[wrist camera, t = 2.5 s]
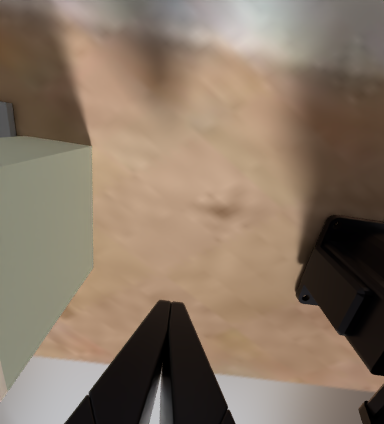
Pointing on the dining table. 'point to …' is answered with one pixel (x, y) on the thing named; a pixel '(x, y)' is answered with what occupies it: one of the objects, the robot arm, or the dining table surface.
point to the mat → (7, 120)
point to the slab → (40, 241)
